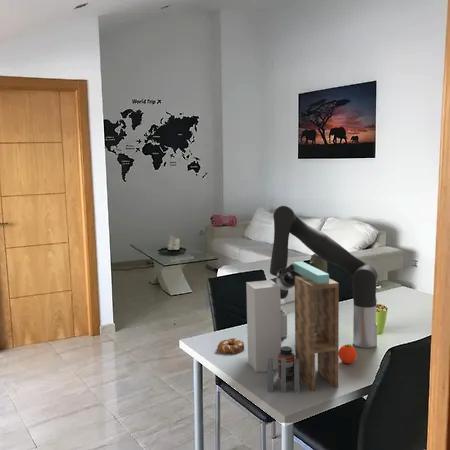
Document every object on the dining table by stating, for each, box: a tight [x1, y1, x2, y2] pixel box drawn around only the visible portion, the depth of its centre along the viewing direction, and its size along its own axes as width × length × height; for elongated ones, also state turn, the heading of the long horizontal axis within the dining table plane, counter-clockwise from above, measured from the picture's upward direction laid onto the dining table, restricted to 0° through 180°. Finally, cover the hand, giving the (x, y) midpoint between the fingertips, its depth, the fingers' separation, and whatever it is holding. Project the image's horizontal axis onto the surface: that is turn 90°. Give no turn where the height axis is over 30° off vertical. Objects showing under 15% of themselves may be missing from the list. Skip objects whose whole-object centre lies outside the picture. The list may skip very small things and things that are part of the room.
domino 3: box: [293, 359, 300, 394], centre depth 173 cm, size 2×5×10 cm, turn 173°
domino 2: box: [280, 358, 287, 393], centre depth 174 cm, size 2×5×10 cm, turn 173°
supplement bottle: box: [277, 345, 295, 382], centre depth 182 cm, size 6×6×11 cm
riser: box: [245, 279, 282, 373], centre depth 192 cm, size 10×10×32 cm
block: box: [292, 261, 330, 284], centre depth 179 cm, size 22×4×3 cm, turn 15°
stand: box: [294, 276, 340, 392], centre depth 177 cm, size 14×10×37 cm
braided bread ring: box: [216, 337, 245, 355], centre depth 211 cm, size 12×11×4 cm
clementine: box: [338, 343, 358, 364], centre depth 194 cm, size 8×7×7 cm
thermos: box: [309, 253, 328, 334], centre depth 229 cm, size 9×12×35 cm
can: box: [281, 308, 288, 339], centre depth 224 cm, size 8×8×12 cm
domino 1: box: [267, 358, 274, 393], centre depth 174 cm, size 2×5×10 cm, turn 173°
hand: (302, 265), depth 185 cm, fingers open, 7 cm apart
